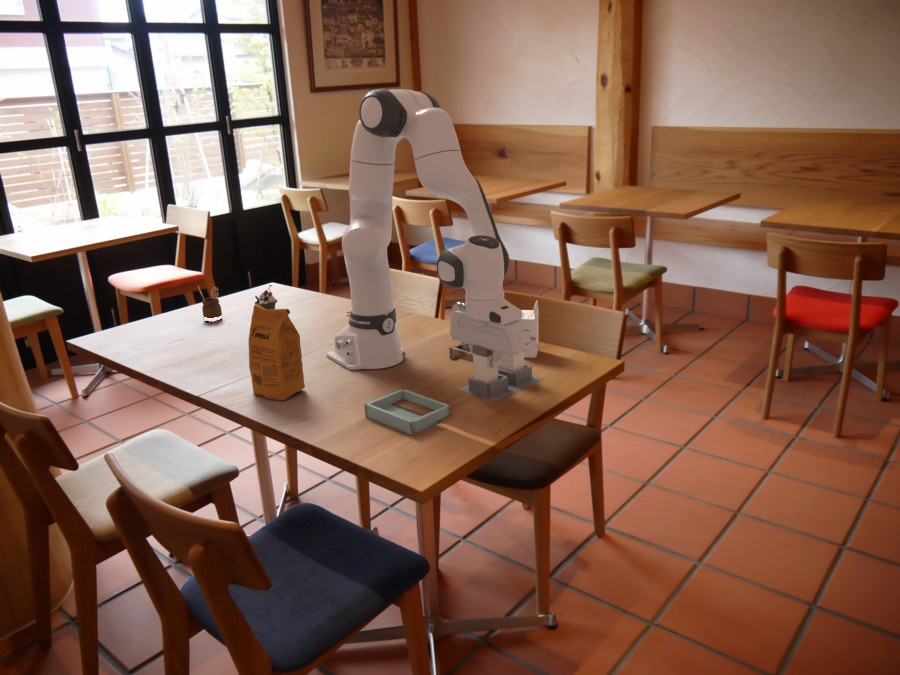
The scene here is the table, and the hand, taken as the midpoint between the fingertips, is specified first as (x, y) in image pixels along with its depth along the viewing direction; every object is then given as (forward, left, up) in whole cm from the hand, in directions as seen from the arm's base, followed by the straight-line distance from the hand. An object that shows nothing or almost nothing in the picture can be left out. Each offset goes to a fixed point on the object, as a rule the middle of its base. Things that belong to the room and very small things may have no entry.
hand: (486, 364), depth 174 cm
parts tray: (-5, -21, -7) cm, 23 cm away
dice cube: (-20, +17, -8) cm, 27 cm away
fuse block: (0, +5, -7) cm, 9 cm away
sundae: (-85, -5, -8) cm, 85 cm away
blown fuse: (0, 0, -4) cm, 4 cm away
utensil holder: (-113, -9, -8) cm, 113 cm away
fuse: (0, +9, -6) cm, 11 cm away
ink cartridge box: (-9, +27, -8) cm, 29 cm away
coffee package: (-41, -31, -8) cm, 52 cm away
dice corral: (-20, +17, -7) cm, 27 cm away
